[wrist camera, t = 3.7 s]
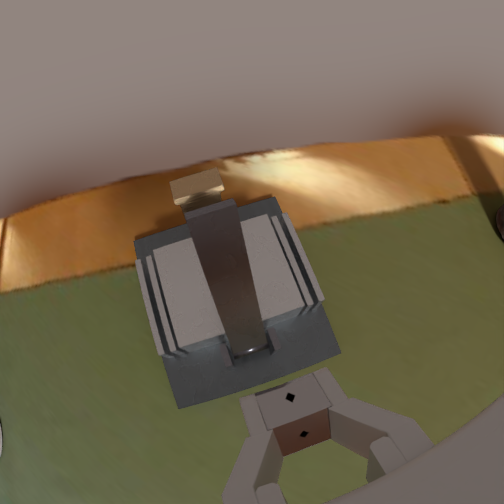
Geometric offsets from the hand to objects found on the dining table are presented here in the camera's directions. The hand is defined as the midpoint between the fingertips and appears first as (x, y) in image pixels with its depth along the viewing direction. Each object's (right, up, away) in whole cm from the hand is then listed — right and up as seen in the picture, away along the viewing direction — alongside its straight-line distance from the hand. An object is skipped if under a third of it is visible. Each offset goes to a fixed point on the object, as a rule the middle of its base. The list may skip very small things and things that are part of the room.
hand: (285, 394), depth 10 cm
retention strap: (-3, +2, +14) cm, 14 cm away
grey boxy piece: (-3, -1, +25) cm, 26 cm away
